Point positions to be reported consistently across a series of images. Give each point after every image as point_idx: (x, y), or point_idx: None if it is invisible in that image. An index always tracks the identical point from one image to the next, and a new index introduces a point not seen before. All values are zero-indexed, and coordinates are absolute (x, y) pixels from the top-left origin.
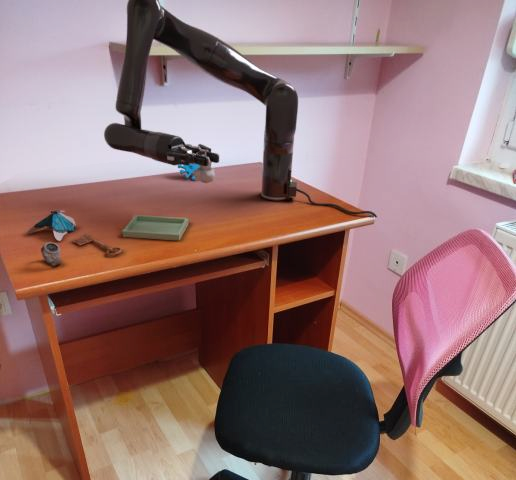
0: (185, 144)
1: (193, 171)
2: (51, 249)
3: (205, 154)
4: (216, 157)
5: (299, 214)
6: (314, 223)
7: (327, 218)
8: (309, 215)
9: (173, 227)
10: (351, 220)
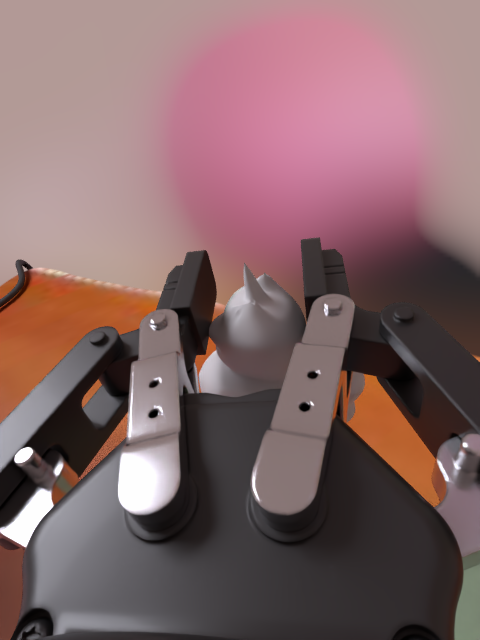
0: (156, 503)
1: (357, 382)
2: None
3: (252, 278)
4: (209, 266)
5: (57, 355)
6: (110, 306)
7: (64, 305)
8: (57, 337)
9: (474, 607)
10: (60, 276)
